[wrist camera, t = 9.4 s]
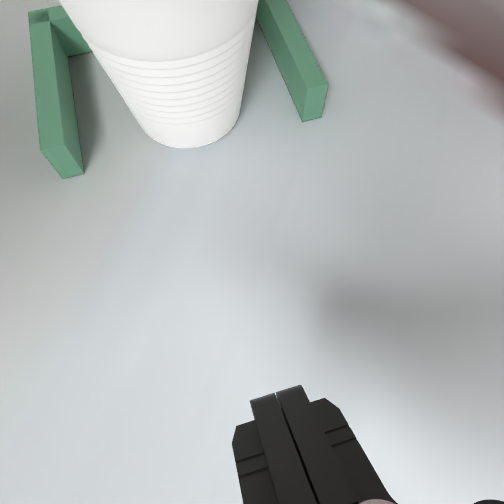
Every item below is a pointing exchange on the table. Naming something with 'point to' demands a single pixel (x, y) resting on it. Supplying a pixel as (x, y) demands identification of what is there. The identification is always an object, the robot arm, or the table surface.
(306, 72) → the putting pocket
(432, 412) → the table surface
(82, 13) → the cup
